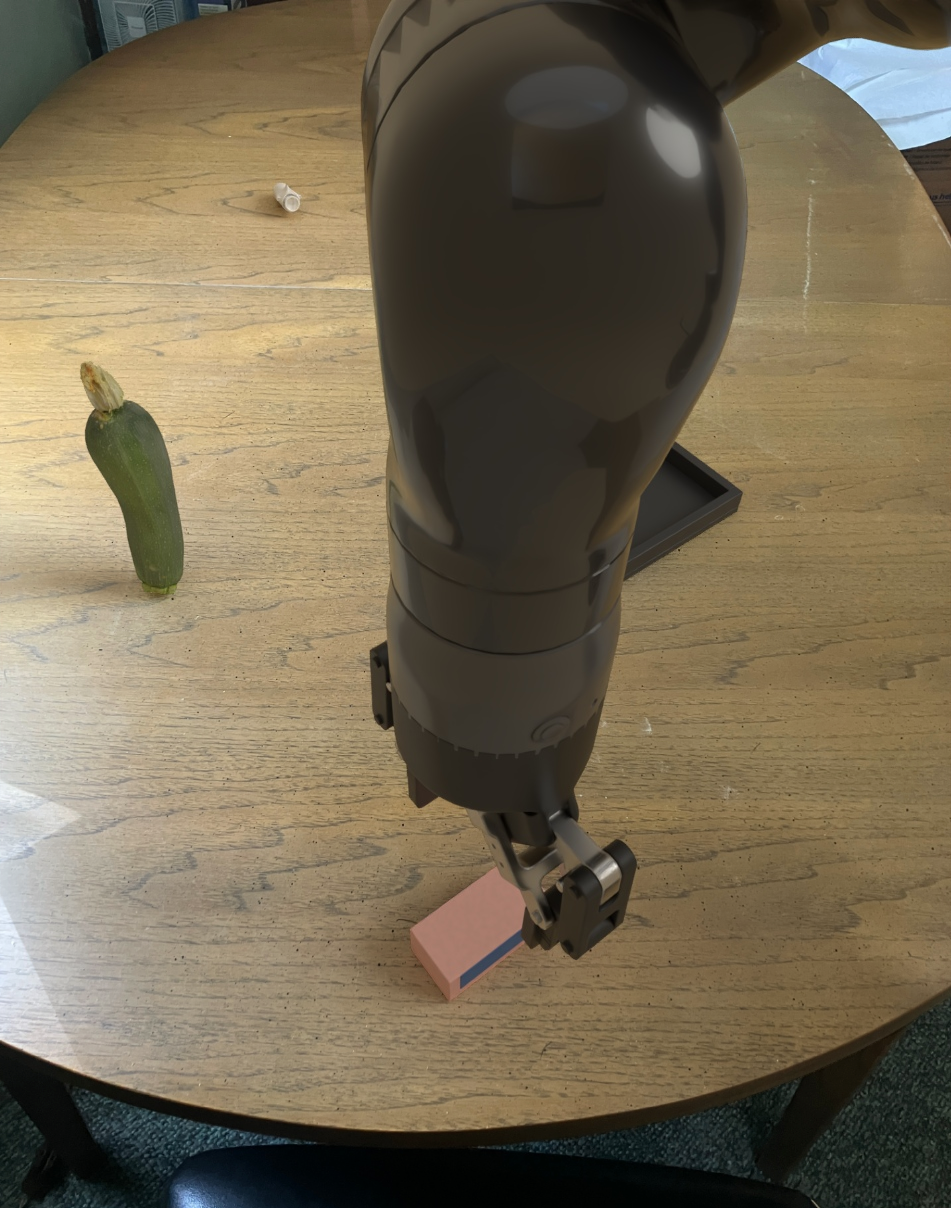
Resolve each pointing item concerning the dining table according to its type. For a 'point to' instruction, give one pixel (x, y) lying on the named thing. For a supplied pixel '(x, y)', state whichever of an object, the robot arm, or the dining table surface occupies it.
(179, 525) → the vegetable
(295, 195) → the small white plastic part
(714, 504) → the tray
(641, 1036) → the dining table surface
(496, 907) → the eraser
